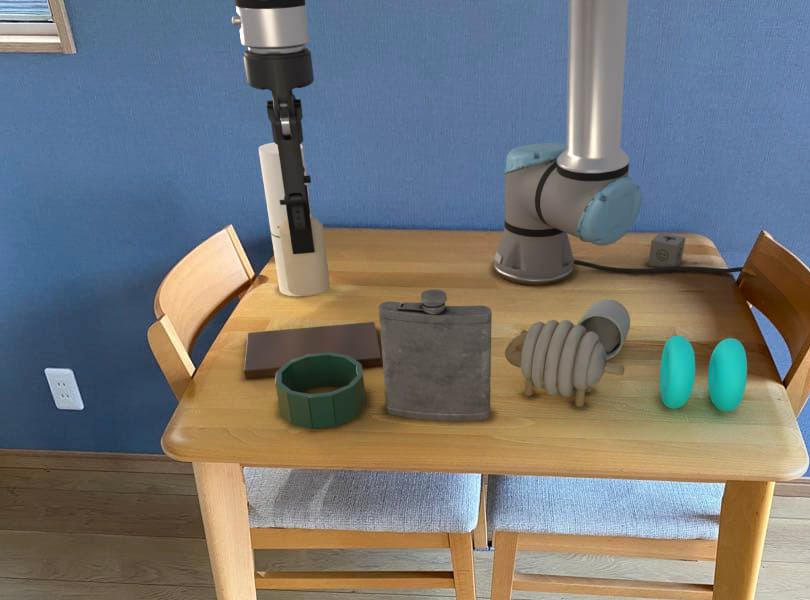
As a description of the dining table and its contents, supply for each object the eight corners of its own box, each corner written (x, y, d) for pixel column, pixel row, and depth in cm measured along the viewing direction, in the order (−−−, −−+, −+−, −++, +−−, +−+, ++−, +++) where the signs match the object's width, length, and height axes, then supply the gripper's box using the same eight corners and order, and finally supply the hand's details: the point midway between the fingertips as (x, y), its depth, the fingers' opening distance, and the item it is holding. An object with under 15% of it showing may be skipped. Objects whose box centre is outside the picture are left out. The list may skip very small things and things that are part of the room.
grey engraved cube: (681, 261, 148) (685, 237, 145) (673, 270, 145) (677, 245, 142) (657, 256, 150) (660, 232, 148) (648, 265, 147) (651, 240, 144)
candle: (295, 299, 98) (284, 225, 93) (283, 284, 102) (272, 212, 97) (335, 291, 101) (327, 218, 95) (322, 276, 105) (313, 205, 99)
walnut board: (374, 329, 124) (374, 321, 123) (381, 366, 114) (381, 357, 113) (249, 340, 120) (247, 332, 120) (245, 379, 111) (243, 370, 110)
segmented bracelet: (362, 378, 111) (359, 349, 108) (368, 423, 101) (365, 391, 99) (281, 386, 109) (276, 356, 106) (280, 432, 99) (274, 400, 97)
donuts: (655, 383, 110) (665, 322, 105) (726, 387, 109) (739, 325, 104) (663, 422, 102) (673, 357, 96) (739, 426, 101) (754, 362, 95)
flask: (488, 424, 101) (490, 302, 91) (383, 417, 102) (373, 296, 92) (490, 409, 104) (492, 289, 94) (388, 403, 105) (380, 284, 96)
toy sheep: (513, 366, 114) (516, 299, 108) (625, 385, 110) (635, 316, 103) (493, 403, 105) (494, 332, 99) (614, 424, 101) (623, 352, 95)
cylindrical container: (310, 297, 134) (292, 154, 120) (273, 294, 135) (250, 151, 121) (325, 281, 140) (309, 143, 126) (289, 278, 141) (269, 140, 127)
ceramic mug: (629, 341, 121) (634, 297, 117) (620, 365, 114) (625, 319, 110) (565, 331, 124) (567, 288, 120) (552, 354, 117) (554, 309, 113)
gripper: (245, 37, 92) (274, 221, 105) (238, 63, 77) (273, 274, 90) (307, 35, 93) (328, 217, 106) (313, 60, 78) (336, 268, 91)
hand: (303, 242), depth 98 cm, fingers closed on candle, 5 cm apart
